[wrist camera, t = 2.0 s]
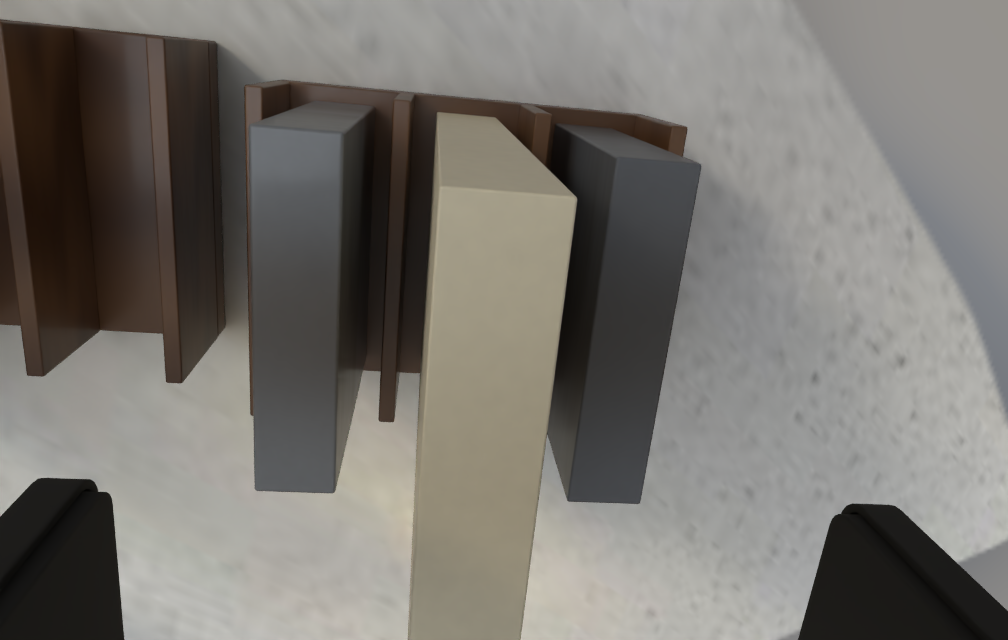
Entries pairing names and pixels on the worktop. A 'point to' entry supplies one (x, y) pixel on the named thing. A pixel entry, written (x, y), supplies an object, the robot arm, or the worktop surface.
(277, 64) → the worktop surface
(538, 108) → the brown slotted rack
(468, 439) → the cream book
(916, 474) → the worktop surface
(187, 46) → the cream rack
